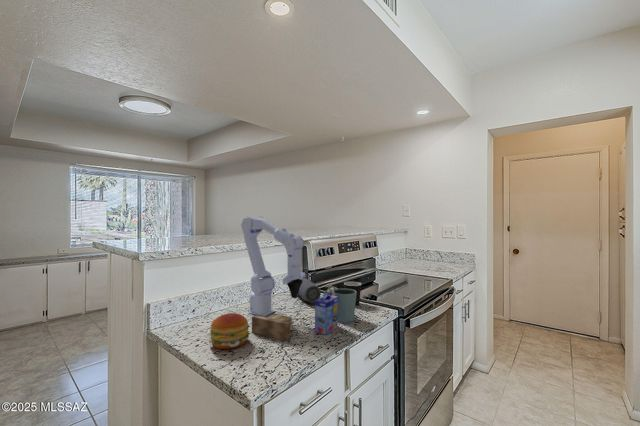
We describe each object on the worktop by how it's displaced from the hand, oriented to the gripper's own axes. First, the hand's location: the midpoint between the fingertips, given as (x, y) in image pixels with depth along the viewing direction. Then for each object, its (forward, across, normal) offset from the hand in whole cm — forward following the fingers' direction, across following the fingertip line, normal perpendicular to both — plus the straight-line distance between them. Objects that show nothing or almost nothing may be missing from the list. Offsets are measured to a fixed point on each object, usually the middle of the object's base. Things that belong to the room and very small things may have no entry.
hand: (294, 297), depth 123 cm
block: (+10, -12, 0) cm, 15 cm away
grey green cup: (+10, +11, -18) cm, 23 cm away
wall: (+10, -16, 0) cm, 19 cm away
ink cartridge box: (+10, -2, -16) cm, 19 cm away
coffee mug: (+10, +32, -12) cm, 36 cm away
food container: (+10, +18, -9) cm, 22 cm away
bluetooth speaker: (+10, +29, +12) cm, 33 cm away
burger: (+10, -28, +9) cm, 31 cm away
